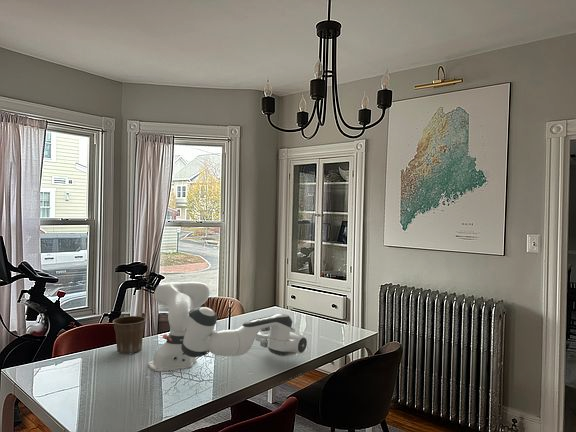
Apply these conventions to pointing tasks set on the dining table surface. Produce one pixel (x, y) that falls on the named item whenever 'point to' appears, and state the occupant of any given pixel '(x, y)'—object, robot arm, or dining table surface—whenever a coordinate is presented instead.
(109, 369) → the dining table surface
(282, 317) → the robot arm
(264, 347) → the post
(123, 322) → the plant pot
